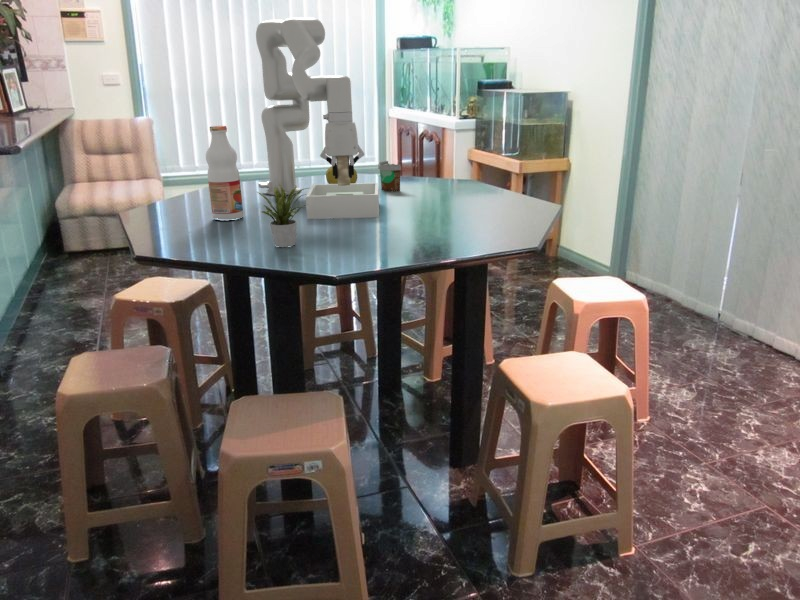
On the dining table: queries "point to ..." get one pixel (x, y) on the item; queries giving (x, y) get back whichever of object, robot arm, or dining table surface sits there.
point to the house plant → (283, 218)
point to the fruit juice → (223, 176)
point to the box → (343, 201)
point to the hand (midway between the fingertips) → (343, 177)
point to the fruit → (332, 179)
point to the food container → (389, 176)
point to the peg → (343, 170)
